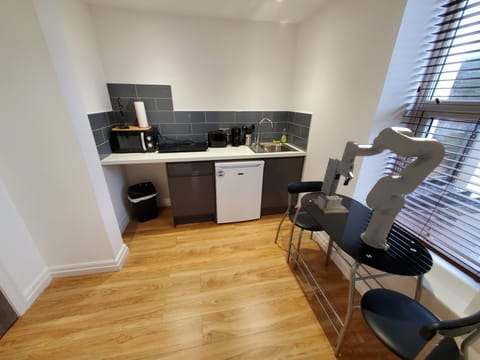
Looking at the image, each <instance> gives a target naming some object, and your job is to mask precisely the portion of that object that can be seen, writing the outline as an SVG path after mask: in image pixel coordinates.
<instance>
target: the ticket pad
mask: <svg viewBox="0 0 480 360" xmlns="http://www.w3.org/2000/svg"><path fill="white" fill-rule="evenodd" d="M317 199H318V201H317V204H318V205H319V206H320V207H324V208H325V209H326V207H332V206H333V203H334V199H333V198H331V197H330V195H328V196H326V195H325V194H324V193H319V195H318V197H317Z"/></svg>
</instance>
